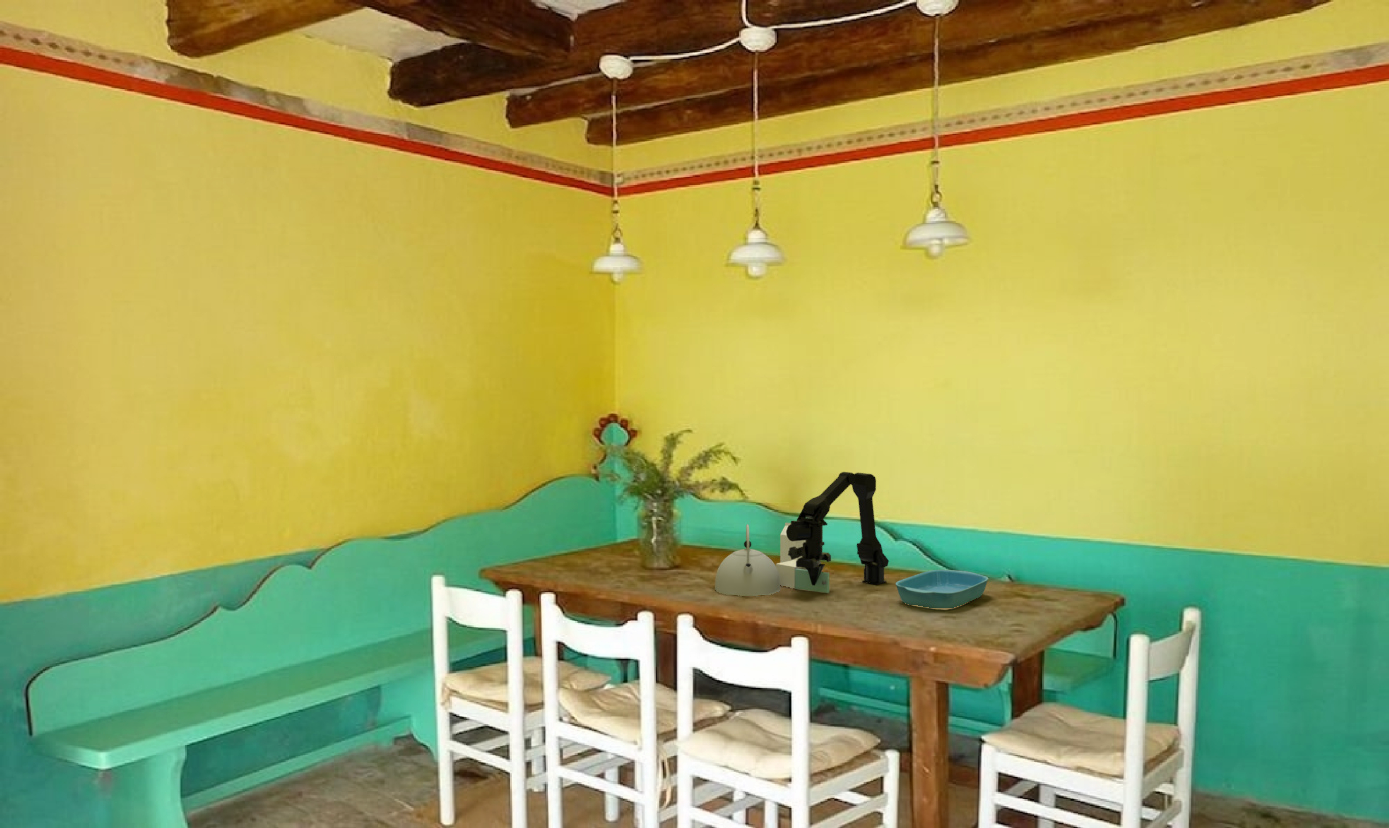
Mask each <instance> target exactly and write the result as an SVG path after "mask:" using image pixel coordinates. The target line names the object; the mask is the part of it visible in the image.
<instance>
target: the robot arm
mask: <svg viewBox="0 0 1389 828" xmlns="http://www.w3.org/2000/svg"><path fill="white" fill-rule="evenodd" d="M849 486H852V492H853V493H854V495H855V496H856V497H857V502H858V509H859V510H858V511H859V520H860V531H861V539H860V541H859V542H857V543H856V549H857V550H856V551H857V552H856V555H858V558H859V559H860V563H861V564H860V565H864V568H863V580H861V582H862V583H864V582H865V583H866V584H871V585H880V584H885V583H887V582H888V581H887V580H885V568H886V567H888V565H889V562H890V561H889V559H888V558H887V556H886V555H885V554H884V553H883V552H884V551H883V546H882V543H881V541H880V540H879V539H878V537H877V534H876V531H877V530H876V525H875V524H876V522H875V510H874V500H873V497H874V494H875V493H876V491H877V478H876V476H874V474H872V473H864V472H855V473H853V472H849V471H841V472H840V473H839V474H838V476H837V477H836V478H835V479H834V481H833V482H831V483H830V484H829V485H828V486H827V488H826V489H824V490H823V491H822V493H821V494H819V495H818V496H815V497H812V498H810V499H809V500H808V501H806V502H805V503H804V505H802V506H803V508H802V510H801V512H800V513H799V515H798V517H797V518H796V520H791V521H790V523H791V524H790V525H789V526H788V528H787V530H786V534H787V537H788V539H789V540H790V541H801V540H806V542H804V543H803V547H800V548H796V547H795V546H794V547H791V548H789V551H788V556H790V557H791V560H793V559H795V558H798V557H801V556H802V557H801V558H799V559H798V560H797V561H796V567H804V568H806V569H807V570H808V573H809V576H810V580H811V584H812V585H814V586H815V585H816V582H817V580H818V578H819V576H820V574H821V572H823V569H824V567H826V564H824V563H822V561H826V562H827V563H829V562H831V561H832V555H831V554H830V553H829V552H825V551H823V547H824V546H825V541H823V539H824V538H823V534H824V533H823V531H824V530H823V528H824V526H828V523H827V522H826V520H824V519H825V518H826V516H827V515H828V514H829V512H830V511H831V510H830V509H831V505H832V504H833V503H834V502H835V501H836V500H837V499H838V498H839V497H840V496H841V495H842V494H843V493H844V492H845V491H846V490H847V489H848V488H849ZM865 583H864V584H865Z"/></svg>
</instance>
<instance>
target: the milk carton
mask: <svg viewBox="0 0 1389 828" xmlns="http://www.w3.org/2000/svg"><path fill="white" fill-rule="evenodd" d="M790 524H791V522H785V523H784V527H783V529H782V530H781V533H780V534H779V535H780V538H779V539H780V540H779V541H780V543H779V545H780V546H779V547H780V549H779V552H780V556H779V558H780V559H779V560H780V561H779V563H782V562H787V561H792V560H791V557H790V556H788V551H789V548H791V547H794V546H795V547H796V548H800V547H803V543H804V542H806V540H801V541H790V540H789V539H788V537H787V534H786V530H787V528H788V526H789V525H790ZM801 557H802V556H801ZM801 557H798V558H795V559H793V560H797V559H799V558H801Z"/></svg>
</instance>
